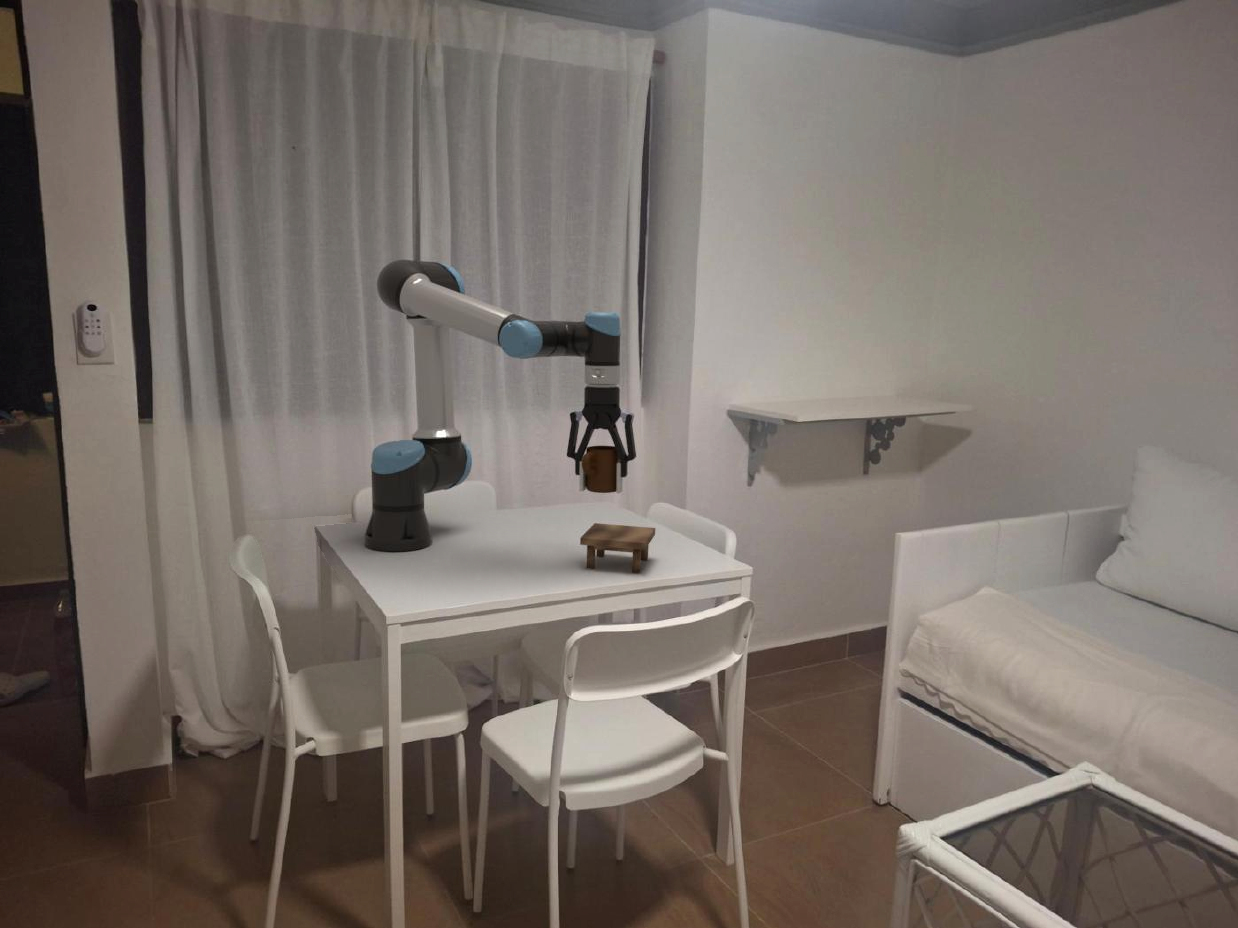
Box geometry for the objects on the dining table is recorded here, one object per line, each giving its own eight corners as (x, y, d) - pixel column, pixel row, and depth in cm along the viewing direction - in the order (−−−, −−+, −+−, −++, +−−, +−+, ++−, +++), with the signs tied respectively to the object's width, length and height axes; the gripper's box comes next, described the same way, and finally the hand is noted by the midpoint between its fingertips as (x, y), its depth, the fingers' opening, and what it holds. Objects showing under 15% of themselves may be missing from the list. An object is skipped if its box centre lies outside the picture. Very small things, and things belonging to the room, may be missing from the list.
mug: (598, 498, 189) (599, 453, 187) (568, 494, 193) (568, 450, 191) (626, 489, 199) (627, 447, 198) (596, 485, 203) (597, 444, 201)
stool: (579, 569, 193) (580, 537, 192) (593, 552, 207) (594, 523, 206) (643, 575, 191) (645, 543, 189) (654, 558, 204) (655, 527, 203)
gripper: (551, 385, 191) (551, 491, 194) (646, 388, 187) (644, 496, 190) (560, 383, 198) (560, 485, 201) (652, 385, 194) (650, 490, 197)
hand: (601, 490), depth 196 cm, fingers closed on mug, 7 cm apart
